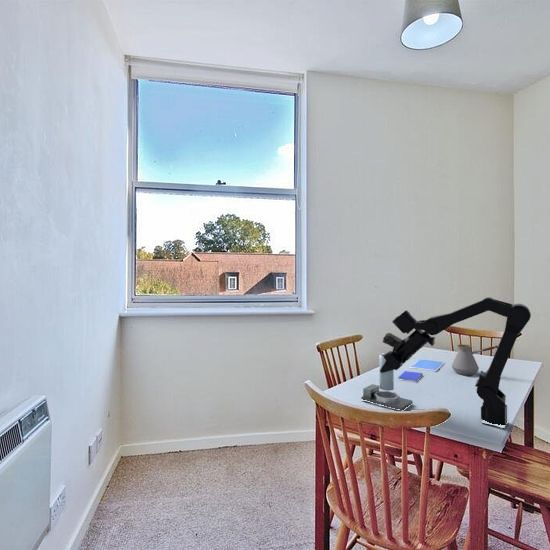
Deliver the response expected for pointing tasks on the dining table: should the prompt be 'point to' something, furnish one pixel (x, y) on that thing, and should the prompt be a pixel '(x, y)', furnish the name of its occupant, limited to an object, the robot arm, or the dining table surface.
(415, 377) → the hard drive
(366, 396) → the motor mount
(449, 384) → the dining table surface
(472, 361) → the coffee pot
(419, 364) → the tablet computer
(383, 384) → the grey capped canister
